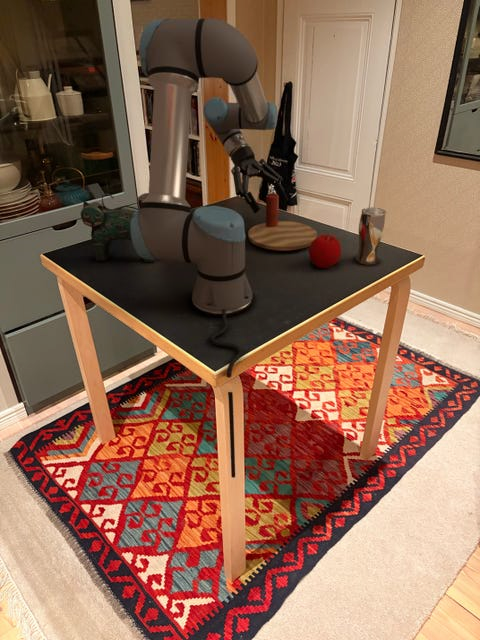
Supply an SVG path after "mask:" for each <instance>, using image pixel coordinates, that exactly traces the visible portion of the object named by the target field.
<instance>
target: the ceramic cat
mask: <svg viewBox="0 0 480 640" xmlns="http://www.w3.org/2000/svg"><path fill="white" fill-rule="evenodd" d="M105 196H109V197H110V198H112V199H113V200H114V199H115V197H114V196H113V195H112V194H110V193H104V194H102V196H101V202H97V201H94V202H91V203H89V202H87V201H83V203H82V209H81V211H80V217H81V221H82V223H83V224H84V225H85V226H87V227H89V228H91V233H90V237H91V241H92V249H93V253H94V258H95V261H96V262H97V261H99V262H105V261H107V260H108V259H109V257H111V253H110V245H111V242H112V241H116V240H130V241H132V239H131V230H130V225H131V219H132V216H133V214H134V212H136V211H138V210H140V209H139V207H138V208H137V207H135V206H131V205H123V206H120V207H116V208H109V207H107V206H106V205H105V202H104V200H103V199H104V197H105ZM142 259H143V262H145V263H153V262H154V261H155V260H148V259H144V258H142Z"/></svg>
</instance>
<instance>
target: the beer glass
mask: <svg viewBox="0 0 480 640" xmlns="http://www.w3.org/2000/svg"><path fill="white" fill-rule="evenodd" d="M360 212H361V213H360V216H359V223H358V251H357V255H356V257H355V261H356V262H357V263H359V264H361V265H365V266H372V265H376V264H377V263H378V251H379V247H380V243H381V240H382V238H383V236H384V235H383V234H384V231H385V225H386V213H387V211H386V210H385V209H383V208H379V207H372V206H371V207H365V208H364V207H363V208H362V209H361V211H360Z"/></svg>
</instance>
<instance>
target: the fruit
mask: <svg viewBox="0 0 480 640" xmlns="http://www.w3.org/2000/svg"><path fill="white" fill-rule="evenodd" d="M331 233H332V232H330V231H329V232H328V234H321V235H319V236H317V238H316V239H315V240H314V241H313V242H312V243H311V245H310V246H309V248H308V255H309V259H310V261H311V263H312V264H313V265H314V266H316V267H318V268H321V269H326V268H329V267H333V266H335V265H336V264H337V263H338V262H339V259H340V258H341V254H342V246H341V243H340V242H339V240H338V238H336V237H335V236H333V235H331Z"/></svg>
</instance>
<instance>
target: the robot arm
mask: <svg viewBox="0 0 480 640" xmlns="http://www.w3.org/2000/svg"><path fill="white" fill-rule="evenodd" d="M138 47H139V48H138V49H139V50H138V55H139V57H138V58H140V61H139V64H140V67H141V70H142V73H143V74H144V76H145V77H147V82H148V84H149V85H150V86H151V88H152V89H153V107H152V124H151V143H150V162H149V178H148V179H149V180H148V193H149V195H148V196H147V197H146V198H145V199H144V200H143V201H142V204H141V210H136V212H134V214H133V216H132V219H131V225H130V230H131V239H132V240H131V243H132V245H133V248H134V250H135V252H136V253H137V255H138V256H139V257H140V258H142V259H143V258H144V259H148V260H154V261H155V262H159V263H160V262H167V263H180V264H192V265H196V269H197V270H196V271H197V273H196V274H197V276H196V279H195V281H194V282H195V283H194V286H193V290H192V294H191V303H192V307H193V308H194V310H196V311H197V312H199V313H201V314H203V315H205V316H209V317H210V316H211V317H218V318H219V317H221V318H222V323H223V327H222V329H220V330H219V331H217V332H215V333H213V334H211V335H210V342H211V343H212V344H213V345H215V346H219V347H224V348H230V349H234V350H236V351H237V354H236V355H235V356H234V357H233V358H232V359H231V360H230V362H229V363H228V366H227V369H226V377H227V378H228V379H229V378H231V377H232V371H233V367H234V366H235V364H236V363H237V362H238V360H239V359H241V358H242V356H243V350H242V348H241V347H240V346H239V345H237V344H235V343H230V342H223V341H220V340H219V341H218V340H216V338H217V337H219V336H221V335H223V334H224V333H226V331H227V330H228V327H229V325H228V320H227V317H230V316H231V317H233V316H236V315H240V314H241V313H243V312H245V311H247V310H248V309H250V308H251V306H252V304H253V300H254V299H253V295H254V294H253V290H252V288H251V284H250V282H249V280H248V277H247V273H246V237H247V236H246V232H245V231H246V230H245V222H244V218H243V217H242V215H241V214H239V213H238V212H237V211H235V210H234V209H230V208H228V207H224V206H218V205H209V206H206V205H205V206H199V207H197V208H196V209H194V211H193V213H191V210H192V208H191V205H190V204H189V203H188V201H187V200H186V188H187V173H188V172H187V171H188V155H189V141H190V140H189V139H190V127H191V125H190V124H191V109H192V96H193V94H195V93H196V92H197V91H198V90H199V87H200V79H209V78H213V79H222V81H223V82H224V83H225V84H226V85H229V87H230V89H231V91H232V93H233V95H234V98H235V99H236V102H226V101H225V100H224V99H222V98H221V97H218V96H215V97H210V98H209V99H208V100H207V101H205V103H204V105H203V108H202V113H203V116H204V118H205V121H206V123H207V124H208V125H209V126H210V127H211V129H212V130H213V132H214V134H215V135H216V137H217V139H218V140H219V141H220V143H221V145H222V147H223V149H224V151H225V153H226V154H227V155H228V157H229V158H230V161H231V162H232V164H233V167H232V168H231V169H230V172H231V175H232V178H233V183H234V190H235V195H236V196H237V197H240V199H244V200H245V202H246V204H247V205H249V207H250V209H251V210H252V212H253V214H258V212H259V211H260V210H261V207H260V206H259V204H258V202H257V200H256V198H255V197H254V195H253V194H252V191H249V184H250V182H249V181H250V179H251V178H254V177H257V178H260V179H262V180H264V181H265V182H267V183H268V184H270V185H272V186H273V187H272V188H273V190H274V192H275V194H278V195H279V201H280V202H281V203H282V204H283V205H284V204H285V203H286V202H288V200H289V197H288V195H287V193H286V191H285V189H284V187H283V185H282V183H281V182H282V181H283V177H282V176H281V174H279V173H278V172H277V171H276V170H274V169H273V168H272V167H271V166H270V165H269V164H268V163H267V162H266V161H265V159H264V158H260V160H259V161H258V160H257V159H256V156H255V152H254V151H253V149H252V147H251V146H250V145H249V142H248V141H247V139H246V138H245V136H244V134H243V132H242V131H241V130H252V131H256V130H257V131H273V130H274V129H276V127H277V123H278V106H277V104H276V103H271V102H267V99H266V96H265V93H264V90H263V87H262V84H261V80H260V77H259V75H258V68H259V61H258V57H257V54H256V50H255V48H254V47H253V44H252V43H251V42H250V41H249V40H248V39H247V37H246V36H245V35H244V34H243V33H242V32H241V31H240V30H238V28H236V27H235V26H233V25H232V24H230V23H228V22H226V21H224V20H222V19H218V18H214V17H206V18H169V17H165V18H161V19H153V20H151V21H149V22H148V23H147V24H145V26H144V28H143V30H142V32H141V36H140V40H139V46H138ZM144 259H143V260H144ZM227 395H228V396H227V398H228V417H229V418H228V419H229V421H228V422H229V445H230V447H229V448H230V475H231V478H236V453H235V450H236V449H235V423H234V422H235V420H234V419H235V418H234V417H235V416H234V395H233V391H227Z"/></svg>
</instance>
